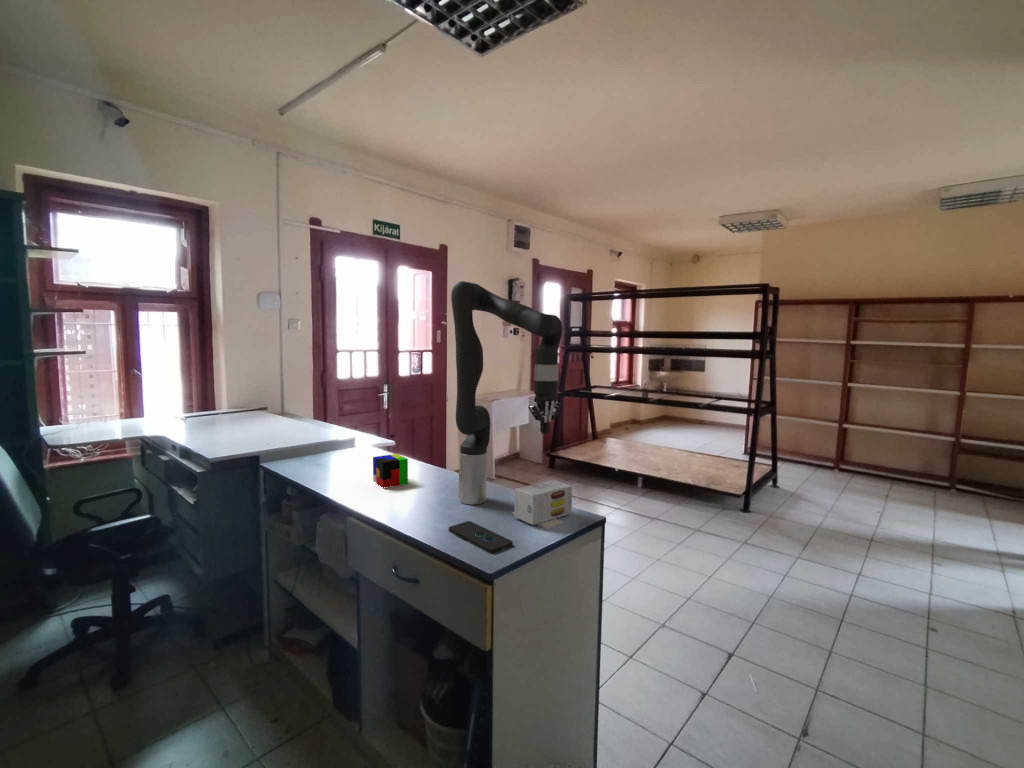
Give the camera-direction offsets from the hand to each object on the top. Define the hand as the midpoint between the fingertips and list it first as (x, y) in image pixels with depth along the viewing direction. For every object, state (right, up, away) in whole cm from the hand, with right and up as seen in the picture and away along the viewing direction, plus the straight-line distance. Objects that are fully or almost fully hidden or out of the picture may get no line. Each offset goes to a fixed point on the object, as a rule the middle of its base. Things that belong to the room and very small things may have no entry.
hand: (544, 433), depth 148 cm
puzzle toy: (-58, -23, +35) cm, 72 cm away
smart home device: (-20, -29, -14) cm, 38 cm away
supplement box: (-7, -22, -4) cm, 23 cm away
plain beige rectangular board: (-2, -27, +1) cm, 27 cm away
